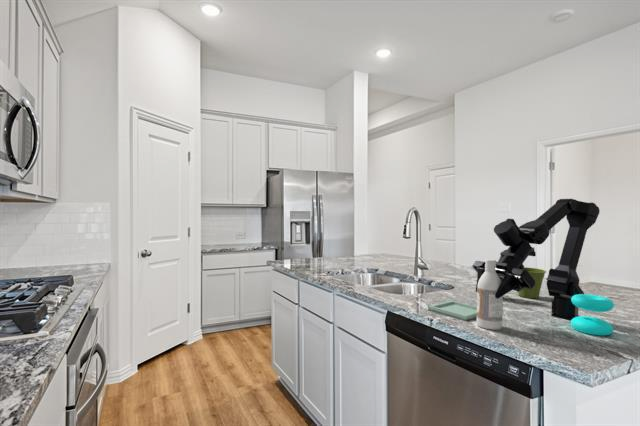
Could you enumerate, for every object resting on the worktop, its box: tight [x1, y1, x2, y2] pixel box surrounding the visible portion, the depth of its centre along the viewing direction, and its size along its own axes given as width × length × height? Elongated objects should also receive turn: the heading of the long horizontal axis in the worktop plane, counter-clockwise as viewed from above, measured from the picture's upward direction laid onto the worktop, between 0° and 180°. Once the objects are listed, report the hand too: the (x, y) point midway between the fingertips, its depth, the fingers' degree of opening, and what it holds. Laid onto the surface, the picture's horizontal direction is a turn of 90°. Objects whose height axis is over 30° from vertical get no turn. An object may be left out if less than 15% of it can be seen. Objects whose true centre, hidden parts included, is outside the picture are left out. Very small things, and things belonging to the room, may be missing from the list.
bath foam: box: [476, 258, 504, 331], centre depth 107 cm, size 7×7×20 cm
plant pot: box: [517, 266, 547, 299], centre depth 147 cm, size 12×12×11 cm
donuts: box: [570, 293, 615, 337], centre depth 105 cm, size 10×10×10 cm
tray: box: [427, 300, 477, 322], centre depth 122 cm, size 14×14×2 cm
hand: (486, 294), depth 107 cm, fingers closed on bath foam, 7 cm apart
